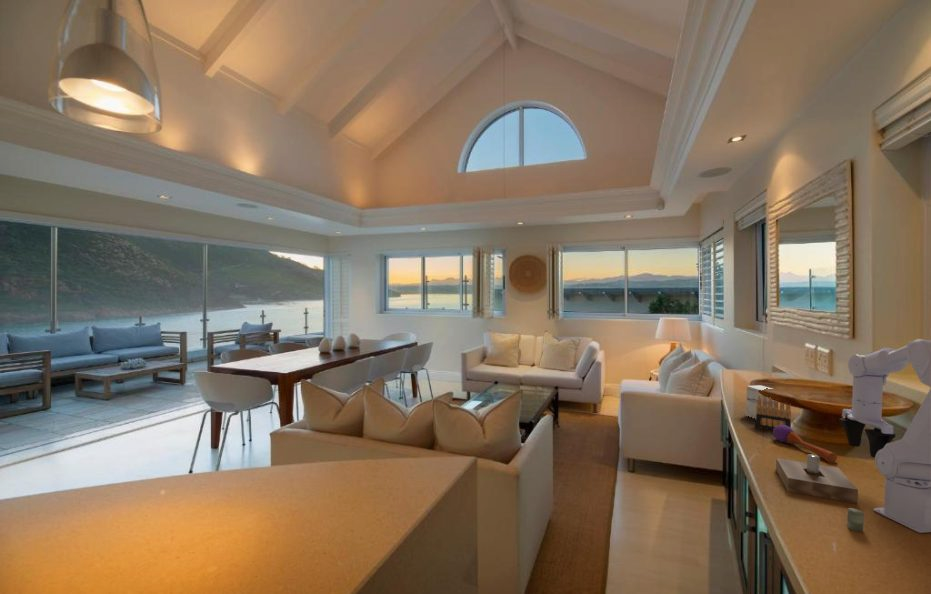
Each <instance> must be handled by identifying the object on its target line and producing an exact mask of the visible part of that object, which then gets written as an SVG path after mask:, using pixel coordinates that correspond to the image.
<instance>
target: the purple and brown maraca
mask: <svg viewBox="0 0 931 594" xmlns="http://www.w3.org/2000/svg"><path fill="white" fill-rule="evenodd" d="M772 435H773V436H774V438H775V439H776V440H777V441H778V442H781V443H783V442H785V443H784V444H790V445H801V446H803V447H804V448H806V449H807V450H810V451H811V452H813V453H814V455H817V456H819V457H820V458H822V459H823V460H825V461H826V462H828V463H836V461H837V458H838V455H837V454H836V453H835V452H833V451H830V450H827V449H826V448H823V447H819V446H817V445H814V444H811V443H809V442H806V441H804V440H802V438H801V437H800V436H799V435H798V433H797V432H795V431H794V430H793V429H792V428H791V427H788V426H786V425H785V424H784V425H779V424H778V426H776V427H775V428H774V430H772Z"/></svg>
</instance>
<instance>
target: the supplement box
mask: <svg viewBox="0 0 931 594" xmlns="http://www.w3.org/2000/svg"><path fill="white" fill-rule="evenodd" d="M766 388H768V389H773V388H771V387H768V386H765V385H747V386H746V399H745V400H746V402H745V417H748V416H749V417H748V418H751V417H752V419H754V418H755V419H754V420H756V406H757V400H758V396H760V398H761V407H762V406H763V399H764V397H765V396H763V395H762V394H760V393H759V392H758V391H759V390H761V391H762V390H764V389H766ZM766 400H767V411H768V403H769V398H768V397H766ZM774 402H775V401H774V400H772V406H773V409H774ZM761 413H762V411H761ZM761 420H762V418H761Z"/></svg>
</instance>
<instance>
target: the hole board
mask: <svg viewBox="0 0 931 594" xmlns="http://www.w3.org/2000/svg"><path fill="white" fill-rule="evenodd" d="M775 471H776V472H777V474H779V475H778V476H779V478H780V480H781V482H782V483H783V486H784V487H785V489H786V491H787V492H792V493H796V494H797V493H798V494H803V495H808V496H813V497H819V498H825V499H829V500H834V499H835V500H834V501H840V500H843V501H842V502H845V501H847V502H846V503H851V502H853V504H856V503H857V504H858V495H859V494H858V493H859V490H858V488H857V487H856V486H855V484H854V483H852V482H851V480H850V479H849V478H848V477H847V475H845V474H844V472H843V471H842V470H841V469H840V468H839V467H836V466H831V465H830V466H829V465H822V464H819V476H816V475H810V474H807V462H804V461H803V462H802V461H798V460H797V461H796V460H791V459H785V458H779V457H776V461H775Z"/></svg>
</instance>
